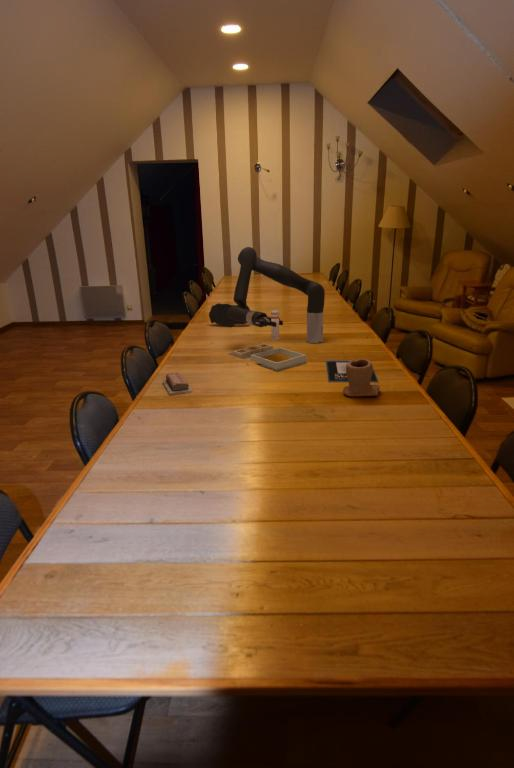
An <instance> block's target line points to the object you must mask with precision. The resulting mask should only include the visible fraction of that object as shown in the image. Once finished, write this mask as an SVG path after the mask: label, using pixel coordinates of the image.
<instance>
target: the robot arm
mask: <svg viewBox="0 0 514 768" xmlns="http://www.w3.org/2000/svg"><path fill="white" fill-rule="evenodd" d="M237 261H238V264H240V266H239V267H240V268H239V273H238V277H237V281H236V283H235V284H236V285H235V288H234V293H233V302H234V303H235V305H238V307H236V306H232V307H230V308H229V310H228V316H229V318H230V319H233V320H236V321H239V322H244V323H245V324H249V325H251V326H255V327H258V328H263V327H265V328H266V327H271V326H273V327H276V322H273V321H271V316H270V315H269V316H268V315H267V313H266V312H264V311H258V310H252V309H250V310H247V306H248V305H247V298H248V294H249V293H248V292H249V287H250V281H251V276H252V272H253V271H254V272H257V273H259V274H261V275H263V276H264V277H267V278H268V279H271V280H272V281H274V282H277V283H279V284H280V285H282V286H286V287H289V288H292V289H295V290H298V291H300V292H302V293H303V294H305V295H306V296H307V307H306V342H307V343H310V344H320V343H319V342H321V343H324V308H325V298H326V297H325V294H326V293H325V288H324V286H323V285H322V284H320V283H319V282H316V281H313V280H310V279H308V278H306V277H303V276H302V275H299V274H298V273H296V272H295V271H293V270H292V269H290V268H288V267H286V266H284V265H282V264H279V263H276V262H272V261H267V260H263V259H262V258H260V257H258V256H257V252H256V250H255V249H254V248H253V247H250V246H246V247H244V248H243V249H241V250H240V252H239V253H238V256H237ZM283 325H284V321H283V320H282V319H281V318H280V317H279V326H283Z"/></svg>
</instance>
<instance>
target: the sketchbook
mask: <svg viewBox="0 0 514 768" xmlns="http://www.w3.org/2000/svg"><path fill="white" fill-rule="evenodd" d="M350 361H351V360H350V359H349V360H348V359H347V360H346V359H342V360H341V359H326V360H325V367H326V372H327V374H328V375H327V374H326V375H327V381H328V383H349V382H348V379H347V376H346V365H347V363H348V362H350ZM371 382H374V383H375V384H378V383H379V380H378V378H377V374H376V372H375V370H374V368H373V373H372V377H371V381H370V384H371ZM377 382H378V383H377Z"/></svg>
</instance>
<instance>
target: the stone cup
mask: <svg viewBox="0 0 514 768" xmlns="http://www.w3.org/2000/svg"><path fill="white" fill-rule="evenodd" d="M373 369H374V367H373V364H372V362H371V360H370V359H367V358H358V359H351V360H350V362H348V363H347V365H346V376H347V379H348V382H347V383H348V385H346V386H344V387H343V389H342V392H343V394H344V395H346V396H348V397H374V396H375V397H376V396H378V395H379V392H380V387H381V385H380V384H371V383H370V381H371V377H372V373H373Z"/></svg>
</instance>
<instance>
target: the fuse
mask: <svg viewBox="0 0 514 768" xmlns="http://www.w3.org/2000/svg"><path fill="white" fill-rule="evenodd" d="M270 315H271V316H270V317H271V321H273V322H276V327H273V326H270V327H271V329H270V330H271V333H270V334H271V337H270V339H271V340H272V341H278V340H280V325H279V318H280V310H279V309H273V310H270Z"/></svg>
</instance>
